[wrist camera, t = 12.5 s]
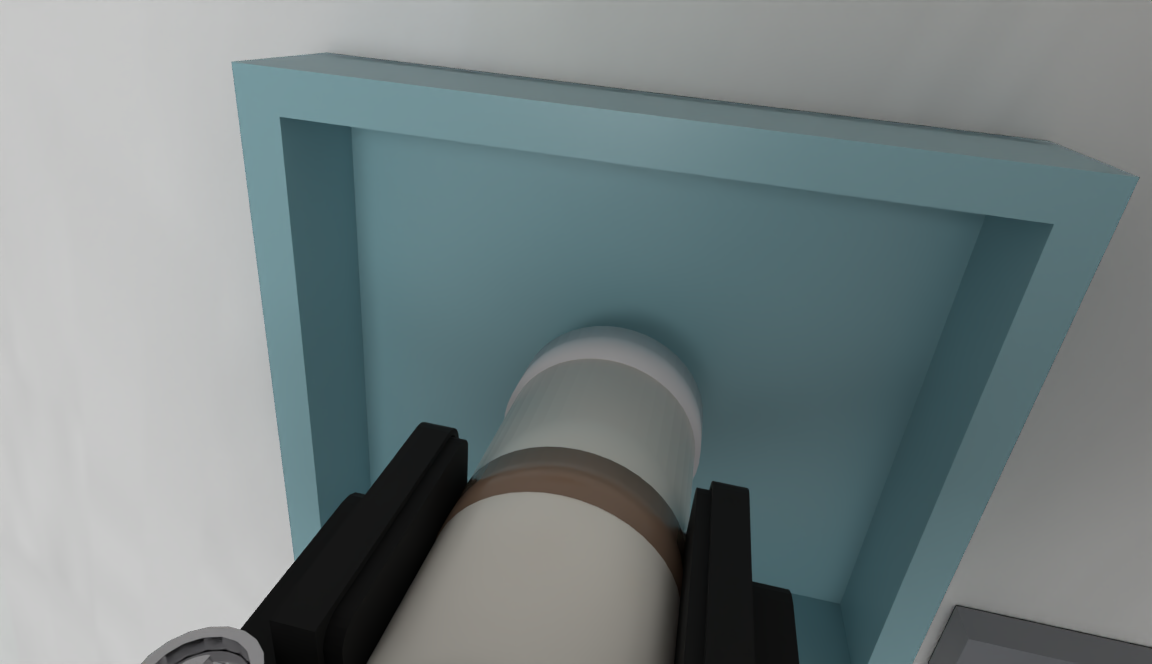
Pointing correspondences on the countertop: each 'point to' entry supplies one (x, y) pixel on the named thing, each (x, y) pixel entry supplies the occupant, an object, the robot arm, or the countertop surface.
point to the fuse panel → (1026, 643)
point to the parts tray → (674, 298)
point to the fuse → (566, 518)
